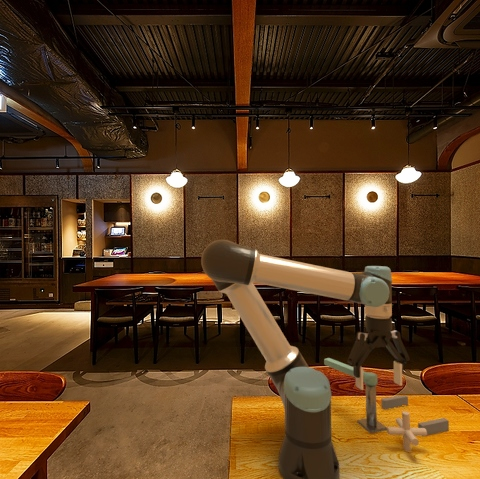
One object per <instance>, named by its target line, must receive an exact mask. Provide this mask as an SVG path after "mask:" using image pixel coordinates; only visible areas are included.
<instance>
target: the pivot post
mask: <svg viewBox="0 0 480 479" xmlns="http://www.w3.org/2000/svg"><path fill="white" fill-rule="evenodd" d="M365 410H366V411H365V413H366V414H365V415H366V416H365V418H360V419H357V420H356V421H357V424H358V425H359V426H361V427H362V428H364V430H365V431H366V432H368V433H369V434H375V433H379V432H385V431H387V427H388V426H385V425H384V424H383V423H382V422H380V421H379V420H377V419H378V417H377V415H378V414H377V412H378V411H377V385H375V386H371V385H367V384H365Z"/></svg>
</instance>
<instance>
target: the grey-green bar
mask: <svg viewBox="0 0 480 479" xmlns="http://www.w3.org/2000/svg"><path fill="white" fill-rule="evenodd" d="M323 363H324V366H326V367H329V368H331V369H334V370H336V371H338V372H341V373H343V374H344V375H345V374H346V375H348V376H351V377H352V378H355V379H356V377H355V376H354V374H353V373H354V372H353V365H350V364H346V363H343V362H341V361H339V360H336V359H334V358H330V357H327V358H324V359H323ZM363 384H365V385H366V384H367V385H371V386H375V385H376V386H377V385H378V374H376V373H374V372H372V371H364V370H363Z"/></svg>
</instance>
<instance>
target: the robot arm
mask: <svg viewBox="0 0 480 479" xmlns="http://www.w3.org/2000/svg"><path fill="white" fill-rule="evenodd" d="M200 263H201V264H200V265H201V267H202V270H203V272H204V274H205V275H206V276H207V277H208V278H209V279H211V281H212V282H213V284H214V285H215V288H216V289H217V291H218V292H219V293H222V294H225V295H226V296H227V297H228V299H229V301H230V303H231V304H232V306H233V308H234V310H235V311H236V312H237V314H238V316H239V318H240V319H241V321H242V323H243V325H244V327H246V330H247V331H248V333H249V334H250V336H251V338H252V339H253V342H254V343H255V345H256V346H257V349H258V350H259V351H260V353H261V355H262V357H264V359H265V361H266V362H265V365H264V369H265V371H266V373H267V374H268V376H269V378H270V379H271V381H272V383H273V384H274V387H275V389H276V391H277V392H278V394H279V396H280V400H281V402H282V404H283V409H284V437H283V440H282V444H281V447H280V450H279V454H278V470H279V472H280V475H281V476H282V478H283V479H340V477H341V476H340V473H341V472H340V462H339V459H338V456H337V453H336V449H335V446H334V444H333V440H332V438H333V437H332V389H331V385H330V384H331V383H330V380H329V379H328V377H327V376H326V375H325V374H324V373H323V372H322V371H320V370H316V369H315V368H312V367H309V365H308V363H307V362H306V360H305V358H304V357H303V355H302V353H301V351H299V348H298V347H296V346H293V345H290V343H289V341H288V340H287V338H286V336H285V335H284V332H282V330H281V328H280V326H279V325H278V323H277V321H276V320H275V318H274V316H273V314H272V313H271V311H270V309H269V308H268V306H267V304H266V303H265V301H264V300H263V298H262V296H261V294H260V293H259V291H258V289H257V287H256V286H255V285H254V283H255V284H260V285H267V286H271V287H276V288H280V289H281V288H282V289H286V290H287V289H288V290H291V291H296V292H297V291H298V292H302V293H307V294H314V295H317V296H321V297H322V296H323V297H327V298H333V299H336V300H337V299H338V300H343V301H348V302H352V303H357V304H362V305H364V314H366V315H365V321H364V323H365V325H364V327H365V330H366V331H365V332H360V331H357V332H356V338H355V342H354V343H353V346H352V348H351V350H350V353H349V355H348V358H347V360H346V362H347V363H348V364H349V365H350V366H352V367H353V372H354V373H353V374H354V376H355V377H356V378H355V377H354V378H355V387H356V388H358V389H359V390H361V391H364V381H363V371H364V367H362V366H363V363H365V361H366V359H367V358H368V356H369V355H370V353H371V352H372V351H373V350H375V348H376V349H377V348H386V349H387V350H388V352H389V353H390V354H391V355H392V356H393V358H394V359H395V360H394V361H393V383H395V384H396V385H398V386H403V374H404V365H407V364H408V363H407V362H409V361H410V359H411V358H410V356H409V354H408V352H407V349H406V347H405V345H404V342H403V341H402V336H401V332H400V331H398V330H395V329H393V319H392V316H393V313H392V312H393V311H392V310H393V309H392V308H393V304H392V301H393V300H392V297H393V296H392V291H393V289H392V284H393V283H392V282H393V280H392V270H391V268H390V267H388V266H385V265H384V266H381V265H367V266H365V267H364V272H349V271H346V270H341V269H335V268H330V267H325V266H321V265H315V264H311V263H305V262H301V261H298V260H297V261H296V260H291V259H286V258H282V257H276V256H271V255H268V254H261V253H259V251H258V250H257V249H256V248H252V247H247V246H243V245H241V244H238V243H235V242H234V241H231V240H228V239H217V240H214V241H212V242H210V243H209V244H208V245H207V246H205V248H204V250H203V251H202V254H201V260H200ZM391 339H392V341H393V343H394V344H393V343H392V342H391ZM394 345H395V346H394ZM395 347H396V348H395Z"/></svg>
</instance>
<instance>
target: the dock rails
mask: <svg viewBox="0 0 480 479" xmlns="http://www.w3.org/2000/svg"><path fill="white" fill-rule="evenodd" d="M404 395H405V396H400V395H396V396H390V397H384V398H380V400H381V403H380V404H381V409H383V410H390V409H389V408H391V409H394V407H396V408H399V407H398V406H402V405H407V406H409V397H408V395H406V394H404ZM402 407H403V406H402ZM449 422H450V421H449V420H448V419H447V418H445V417H442V418H437V419H433V420H427V421H423V422H418V423H417V428H425V429H426V431H427V436H429V435H430V436H431V435H435V434H439V433H443V432H449V429H450V425H449Z"/></svg>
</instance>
